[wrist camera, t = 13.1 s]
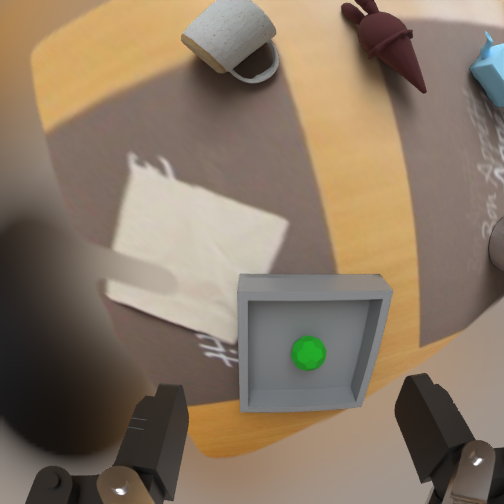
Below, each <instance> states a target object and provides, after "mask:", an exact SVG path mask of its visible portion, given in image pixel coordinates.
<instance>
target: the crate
mask: <svg viewBox="0 0 504 504" xmlns="http://www.w3.org/2000/svg"><path fill="white" fill-rule="evenodd" d="M392 293H393V289H392V288H391V287H390V286H389V285H388V283H387V282H386V281H385V280H384V279H383V277H382V276H381V275H380V274H240V275H239V283H238V290H237V298H238V347H239V385H240V412H304V411H322V410H335V409H347V408H355V407H361V406H362V404H363V401H364V398H365V395H366V391H367V388H368V385H369V382H370V379H371V376H372V372H373V369H374V366H375V362H376V359H377V355H378V351H379V348H380V344H381V340H382V336H383V332H384V328H385V324H386V320H387V316H388V311H389V307H390V302H391V298H392ZM309 335H310V336H313V337H315V338H318V339H320V340H321V341H322V343H323V344H324V346H325V348H326V350H327V353H326V358H325V361H324V363H323V364H322V365H321V366H320V367H319V368H318V369H316V370H312V371H303V370H301V369H299V368H297V367H296V365H295V364H294V362H293V360H292V358H291V352H292V348H293V344H294V343H295V342H296V341H297V340H298V339H300V338H301V337H303V336H309Z"/></svg>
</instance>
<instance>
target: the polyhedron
mask: <svg viewBox="0 0 504 504" xmlns="http://www.w3.org/2000/svg"><path fill="white" fill-rule="evenodd" d="M326 353H327V350H326V348H325V346H324V344H323V343H322V341H321V340H320V339H318V338H315V337H313V336H310V335H309V336H303V337H301V338H300V339H298V340H297V341H296V342H295V343H294V344H293V348H292V352H291V358H292V360H293V362H294V364H295V365H296V367H297V368H299V369H301V370H303V371H312V370H316V369H318V368H319V367H320V366H321V365H322V364H323V363H324V361H325V358H326Z"/></svg>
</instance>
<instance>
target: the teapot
mask: <svg viewBox="0 0 504 504" xmlns="http://www.w3.org/2000/svg"><path fill="white" fill-rule="evenodd" d="M485 34H486V37H487V42H486V43H485V44H484V45H483V46H482V48H481V50H480V55H479V57H478V58H477V59H476V60H475V62H474V63H473V64H472V65H471V67H470V68H469V69H470V71H471V72H472V74H473V76H474V78H475V79H477V80H478V82H479V83H480V84H481V86H482V87H483V89H484V90H485V92H486V94H487V96H488V98H490V99H491V100H492V102H493V104H494V105H495V107H504V43H503V44H500V45H496V46H492V45H493V40H492V38H491V36H490V35H489V34H488V33H487V32H485Z"/></svg>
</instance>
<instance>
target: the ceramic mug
mask: <svg viewBox="0 0 504 504" xmlns="http://www.w3.org/2000/svg"><path fill="white" fill-rule="evenodd" d="M275 35H276V29H275V27H274V25H273V23H272V22H271V20H270V19H269V17H268V16H267V15H266V14H265V13H264V12H263V11H262V10H261V9H260V8H259V7H258V6H257V5H256V4H255V3H254V2H253V1H251V0H216V1H215V2H214V3H213V4H211V5H210V6H209V7H208V8H207V9H206V10H205V11H204V12H203V13H202V14H201V15H200V16H199V17H197V18H196V19H195V20H194V21H193V22H192V23H191V24H190V25H189V26H188V27H187V28H186V30H185V31H184V32H183V34H182V36H181V41H182V42H183V43H184V44H185V45H186V46H187V47H188V48H189V49H190V50H192V51H193V52H194V53H195V54H196V55H197V56H198V57H200V58H201V59H202V60H203V61H204V62H205V63H207V64H208V65H209V66H210V67H211V68H213V69H214V70H215V71H216V72H218V73H226V72H230V73H231V74H232V75H233V76H234V77H236V78H238V79H239V80H241V81H243V82H246V83H260V82H262V81H265V80H267V79H268V78H270V77H271V76H272V75H273V74H274V73H275V72H276V70H277V68H278V65H279V55H278V52H277V49H276V47H275V45H274V43H273V42H272V41H271V39H272V38H273V37H274V36H275ZM265 43H267V44H268V46H269V47H270V49H271V52H272V55H273V64H272V65H271V67H270V68H269V69H267V70H266V71H264V72H263V73H261V74H260V75H256V76H255V77H254V78H252V79H247V78H243V77H241V76H240V75H238V74H237V73H236V72H235V71H234V70H233V68H234V67H236V66H237V65H238V64H239V63H241V62H242V61H243V60H244V59H245V58H246V57H247V56H249V55H250V54H251V53H253V52H254V51H256V50H257V49H258V48H260V47H261V46H262V45H264V44H265Z"/></svg>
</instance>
